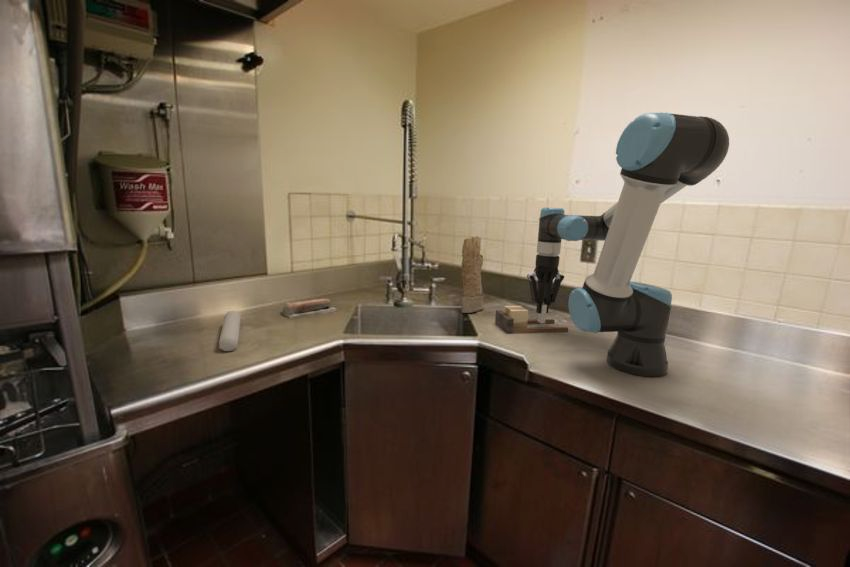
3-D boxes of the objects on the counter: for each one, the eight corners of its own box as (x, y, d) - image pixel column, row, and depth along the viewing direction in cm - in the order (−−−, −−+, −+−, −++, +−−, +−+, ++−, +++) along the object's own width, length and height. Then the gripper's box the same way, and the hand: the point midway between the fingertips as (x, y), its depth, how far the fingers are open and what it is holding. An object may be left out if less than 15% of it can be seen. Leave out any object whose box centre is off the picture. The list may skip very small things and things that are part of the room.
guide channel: (568, 335, 134) (570, 318, 133) (507, 337, 130) (508, 320, 129) (550, 324, 146) (552, 308, 145) (494, 326, 141) (495, 309, 140)
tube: (241, 338, 109) (243, 312, 132) (220, 334, 107) (226, 309, 130) (235, 356, 110) (238, 327, 132) (214, 352, 108) (221, 324, 130)
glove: (485, 315, 154) (491, 238, 148) (458, 313, 155) (463, 237, 148) (482, 306, 168) (487, 235, 161) (457, 304, 168) (461, 233, 162)
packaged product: (290, 307, 139) (279, 301, 146) (291, 320, 140) (280, 313, 147) (337, 300, 151) (324, 295, 158) (337, 312, 152) (325, 306, 159)
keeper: (526, 330, 134) (528, 310, 132) (509, 331, 133) (511, 311, 131) (518, 324, 140) (520, 305, 139) (502, 325, 139) (504, 305, 137)
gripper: (559, 253, 138) (552, 318, 143) (524, 252, 135) (518, 319, 140) (571, 256, 131) (563, 324, 135) (535, 255, 128) (528, 326, 133)
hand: (541, 322), depth 138 cm, fingers closed
